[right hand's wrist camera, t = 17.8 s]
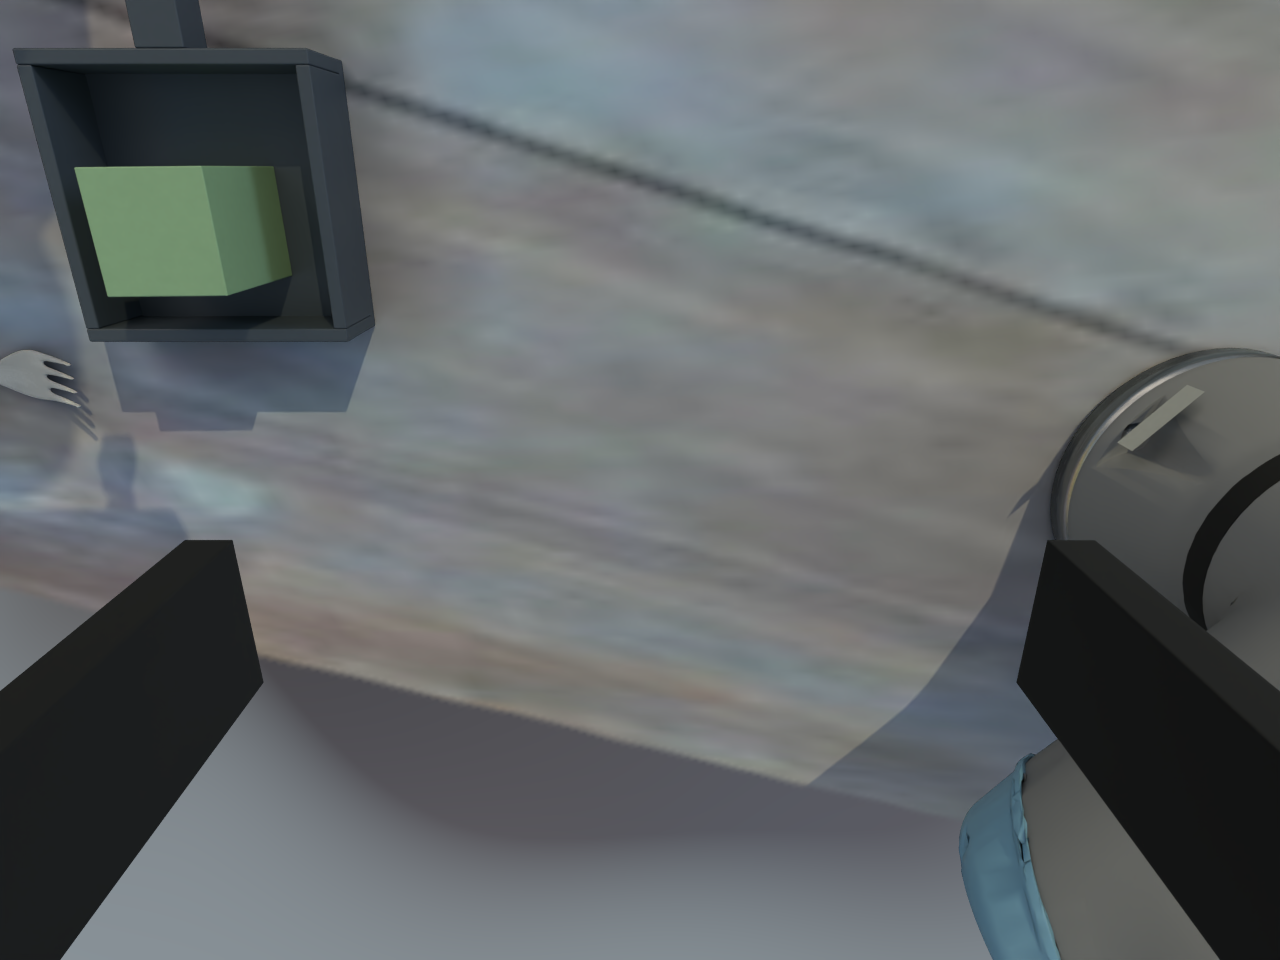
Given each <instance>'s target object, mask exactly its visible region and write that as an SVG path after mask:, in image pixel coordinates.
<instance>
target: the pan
mask: <svg viewBox="0 0 1280 960" xmlns="http://www.w3.org/2000/svg"><path fill="white" fill-rule="evenodd" d="M125 2H126V7H127V11H128V16H129V21H130V26H131V30H132V35H133V40H134V44H135V47H136V48H14V49H13V53H14V57H15V61H16V63H17V64H18V65H17V68H18V72H19V76H20V79H21V83H22V87H23V91H24V94H25V98H26V102H27V106H28V110H29V113H30V117H31V121H32V125H33V128H34V132H35V136H36V140H37V143H38V147H39V151H40V155H41V158H42V162H43V166H44V170H45V174H46V177H47V181H48V185H49V189H50V192H51V196H52V200H53V204H54V207H55V211H56V215H57V219H58V223H59V226H60V230H61V234H62V238H63V241H64V245H65V249H66V253H67V256H68V260H69V264H70V268H71V271H72V275H73V279H74V283H75V287H76V290H77V294H78V298H79V302H80V305H81V309H82V313H83V317H84V320H85V324H86V328H88V329H87V332H88V335H89V339H90V341H92V342H347V341H349V340H351V339H353V338H354V337H356V336H358V335H359V334H361V333H363V332H365V331H366V330H368V329H370V328H371V327H373V326H375V320H374V312H373V304H372V296H371V288H370V281H369V273H368V265H367V257H366V249H365V241H364V233H363V225H362V218H361V210H360V202H359V194H358V186H357V178H356V170H355V162H354V155H353V147H352V139H351V131H350V123H349V115H348V107H347V99H346V92H345V84H344V76H343V68H342V61H340V60H338V59H335V58H332V57H329V56H326V55H324V54H321V53H318V52H315V51H312V50H310V49H307V48H207V45H206V39H205V34H204V28H203V23H202V17H201V12H200V6H199V1H198V0H125ZM139 166H273V167H274V172H275V178H276V184H277V190H278V195H279V201H280V207H281V213H282V219H283V224H284V230H285V236H286V242H287V248H288V254H289V259H290V265H291V271H292V276H290V277H287V278H283V279H280V280H277V281H274V282H270V283H267V284H264V285H261V286H257V287H254V288H251V289H248V290H245V291H241V292H238V293H235V294H232V295H228V296H166V297H108V296H107V292H106V288H105V284H104V280H103V276H102V273H101V269H100V265H99V261H98V257H97V253H96V250H95V246H94V242H93V238H92V234H91V230H90V227H89V223H88V219H87V215H86V211H85V207H84V204H83V200H82V196H81V192H80V188H79V184H78V181H77V177H76V173H75V169H74V168H75V167H139Z"/></svg>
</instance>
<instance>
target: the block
mask: <svg viewBox="0 0 1280 960" xmlns="http://www.w3.org/2000/svg"><path fill="white" fill-rule="evenodd" d="M74 169H75V173H76V177H77V181H78V184H79V188H80V192H81V196H82V200H83V204H84V207H85V211H86V215H87V219H88V223H89V227H90V230H91V234H92V238H93V242H94V246H95V250H96V253H97V257H98V261H99V265H100V269H101V273H102V276H103V280H104V284H105V288H106V292H107V296H108V297H166V296H228V295H232V294H235V293H238V292H241V291H245V290H248V289H251V288H254V287H257V286H261V285H264V284H267V283H270V282H274V281H277V280H280V279H283V278H287V277H290V276H292V271H291V265H290V259H289V254H288V248H287V242H286V236H285V230H284V224H283V219H282V213H281V207H280V201H279V195H278V190H277V184H276V178H275V172H274V167H273V166H139V167H75V168H74Z"/></svg>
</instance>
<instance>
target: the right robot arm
mask: <svg viewBox="0 0 1280 960" xmlns="http://www.w3.org/2000/svg"><path fill="white" fill-rule="evenodd" d="M1051 523H1052V529H1053V534H1054V537H1055V540H1047V545H1046V549H1045V554H1044V559H1043V563H1042V568H1041V572H1040V577H1039V582H1038V586H1037V591H1036V595H1035V600H1034V605H1033V609H1032V614H1031V618H1030V623H1029V627H1028V632H1027V637H1026V641H1025V646H1024V650H1023V655H1022V660H1021V664H1020V669H1019V673H1018V678H1017V684H1018V685H1019V686H1020V688H1021V689H1022V691H1023V692H1024V693H1025V695H1026V696H1027V697H1028V699H1029V700H1030V701H1031V703H1032V704H1033V706H1034V707H1035V708H1036V710H1037V711H1038V712H1039V714H1040V715H1041V717H1042V718H1043V719H1044V721H1045V722H1046V723H1047V725H1048V726H1049V727H1050V729H1051V730H1052V732H1053V733H1054V734H1055V736H1056V737H1057V738H1058V739H1057V740H1056V741H1054V742H1053V743H1052V744H1050V745H1049V746H1047V747H1046V748H1045V749H1043V750H1042V751H1041V752H1039V753H1038V754H1036V755H1034V754H1029V755H1027V756H1025V757H1023V758H1022V759H1021V760H1020V761H1019V762H1018V763H1017V765H1016V768H1015V770H1014V772H1013V773H1011V774H1010V775H1009V776H1008V777H1007V778H1005V779H1004V780H1003V781H1002V782H1000V783H999V784H998V785H997V786H996V787H994V788H993V789H992V790H991V791H990V792H988V793H987V794H986V795H985V796H983V797H982V798H981V799H980V800H979V801H977V802H976V803H975V804H974V805H973V806H972V807H971V808H970V810H969V811H968V813H967V814H966V816H965V819H964V821H963V823H962V826H961V831H960V836H959V853H960V859H961V867H962V869H961V872H962V877H963V881H964V885H965V889H966V892H967V896H968V899H969V902H970V905H971V908H972V911H973V914H974V917H975V919H976V922H977V924H978V927H979V929H980V932H981V934H982V936H983V939H984V941H985V944H986V946H987V948H988V950H989V952H990V955H991V957H992V959H993V960H1280V356H1276V355H1273V354H1269V353H1266V352H1262V351H1257V350H1251V349H1241V348H1220V349H1211V350H1203V351H1198V352H1194V353H1190V354H1186V355H1183V356H1179V357H1176V358H1173V359H1170V360H1168V361H1166V362H1163V363H1161V364H1158V365H1156V366H1154V367H1152V368H1150V369H1148V370H1146V371H1144V372H1143V373H1141V374H1139V375H1138V376H1136V377H1134V378H1133V379H1131V380H1129V381H1128V382H1127V383H1125V384H1124V385H1123V386H1121V387H1120V388H1118V389H1117V390H1116V391H1115V392H1113V393H1112V394H1111V395H1110V396H1109V397H1108V398H1106V399H1105V400H1104V401H1103V402H1102V403H1101V404H1100V405H1099V406H1098V407H1097V408H1096V409H1095V410H1094V411H1093V412H1092V413H1091V415H1090V416H1089V417H1088V418H1087V419H1086V420H1085V422H1084V423H1083V424H1082V426H1081V427H1080V428H1079V430H1078V431H1077V433H1076V434H1075V436H1074V437H1073V439H1072V440H1071V442H1070V444H1069V445H1068V447H1067V449H1066V451H1065V453H1064V455H1063V457H1062V460H1061V462H1060V465H1059V467H1058V470H1057V473H1056V477H1055V480H1054V484H1053V490H1052V496H1051ZM262 684H263V678H262V673H261V669H260V664H259V660H258V655H257V650H256V646H255V641H254V637H253V632H252V628H251V623H250V618H249V614H248V609H247V605H246V600H245V595H244V591H243V586H242V582H241V577H240V572H239V568H238V563H237V559H236V554H235V549H234V545H233V540H185V541H183V542H182V543H181V544H180V545H178V546H177V547H176V548H175V549H174V550H172V551H171V552H170V553H169V554H167V555H166V556H165V557H164V558H163V559H161V560H160V561H159V562H158V563H156V564H155V565H154V566H153V567H152V568H150V569H149V570H148V571H147V572H145V573H144V574H143V575H142V576H141V577H139V578H138V579H137V580H136V581H134V582H133V583H132V584H131V585H130V586H128V587H127V588H126V589H125V590H123V591H122V592H121V593H120V594H118V595H117V596H116V597H115V598H114V599H112V600H111V601H110V602H109V603H107V604H106V605H105V606H104V607H103V608H101V609H100V610H99V611H98V612H96V613H95V614H94V615H93V616H92V617H90V618H89V619H88V620H87V621H85V622H84V623H83V624H82V625H81V626H79V627H78V628H77V629H76V630H74V631H73V632H72V633H71V634H70V635H68V636H67V637H66V638H65V639H63V640H62V641H61V642H60V643H58V644H57V645H56V646H55V647H54V648H52V649H51V650H50V651H49V652H47V653H46V654H45V655H44V656H43V657H41V658H40V659H39V660H38V661H36V662H35V663H34V664H33V665H32V666H30V667H29V668H28V669H27V670H25V671H24V672H23V673H22V674H21V675H19V676H18V677H17V678H16V679H14V680H13V681H12V682H11V683H10V684H8V685H7V686H6V687H5V688H3V689H2V690H1V691H0V960H60V959H61V958H62V957H63V955H64V954H65V953H66V951H67V950H68V949H69V947H70V946H71V944H72V943H73V942H74V940H75V939H76V938H77V936H78V935H79V934H80V932H81V931H82V929H83V928H84V927H85V925H86V924H87V923H88V921H89V920H90V918H91V917H92V916H93V914H94V913H95V912H96V910H97V909H98V908H99V906H100V905H101V903H102V902H103V901H104V899H105V898H106V897H107V895H108V894H109V893H110V891H111V890H112V888H113V887H114V886H115V884H116V883H117V882H118V880H119V879H120V878H121V876H122V875H123V873H124V872H125V871H126V869H127V868H128V867H129V865H130V864H131V863H132V861H133V860H134V858H135V857H136V856H137V854H138V853H139V852H140V850H141V849H142V848H143V846H144V845H145V843H146V842H147V841H148V839H149V838H150V836H151V835H152V834H153V833H154V831H155V830H156V828H157V827H158V826H159V824H160V823H161V822H162V820H163V819H164V817H165V816H166V815H167V813H168V812H169V811H170V809H171V808H172V807H173V805H174V804H175V802H176V801H177V800H178V798H179V797H180V796H181V794H182V793H183V792H184V790H185V789H186V787H187V786H188V785H189V783H190V782H191V781H192V779H193V778H194V776H195V775H196V774H197V772H198V771H199V770H200V768H201V767H202V766H203V764H204V763H205V762H206V760H207V759H208V757H209V756H210V755H211V753H212V752H213V751H214V749H215V748H216V747H217V745H218V744H219V742H220V741H221V740H222V738H223V737H224V735H225V734H226V733H227V732H228V730H229V729H230V727H231V726H232V725H233V723H234V722H235V721H236V719H237V718H238V717H239V715H240V714H241V712H242V711H243V710H244V708H245V707H246V706H247V704H248V703H249V701H250V700H251V699H252V697H253V696H254V695H255V693H256V692H257V691H258V689H259V688H260V686H261V685H262Z"/></svg>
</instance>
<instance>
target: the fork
mask: <svg viewBox="0 0 1280 960" xmlns="http://www.w3.org/2000/svg"><path fill="white" fill-rule="evenodd" d="M44 361H50V362H55V363H59V364H64V365H66V366H71V364H70V363H67V362H65V361H63V360H60V359H58V358H55V357H53V356H50V355H47V354H44V353H41V352H37V351H34V350H21V351H17V352H15V353H12V354H10V355H8V356H6V357H5V358H3V359H1V360H0V385H2V386H5V387H7V388H10V389H12V390H15V391H17V392H19V393H22V394H25V395H28V396H31V397H34V398H38V399H44V400H53V401H58V402H62V403H66V404H70V405H73V406H76V407H81V405H79V404H77V403H75V402H73V401H71V400H68V399H66V398H64V397H61V396H59V395H56V394H54V393H53V392H51V390H50V389H51V388H56V389H60V390H64V391H68V392H72V393H78V392H77V391H75V390H73V389H70V388H68V387H66V386H64V385H61V384H59V383H56V382H54V381H51V380H50V379H48V377H47V375H55V376H59V377H63V378H67V379H70V380H72V379H74V378H73V377H71V376H69V375H66V374H64V373H62V372H59V371H57V370H54V369H52V368H49V367H47V366H46V365H45V364H44Z"/></svg>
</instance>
